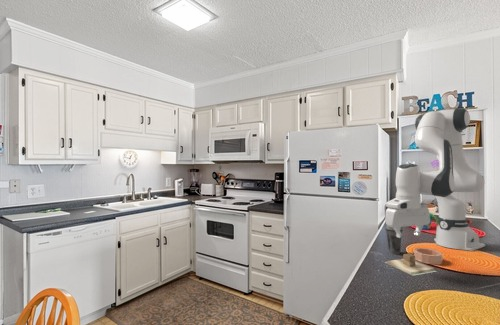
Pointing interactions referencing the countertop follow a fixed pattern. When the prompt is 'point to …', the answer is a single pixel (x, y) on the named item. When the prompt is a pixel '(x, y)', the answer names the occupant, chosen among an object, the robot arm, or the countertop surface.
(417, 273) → the mat
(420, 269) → the cover
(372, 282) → the countertop surface
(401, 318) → the countertop surface
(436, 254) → the bowl
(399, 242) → the beverage cup
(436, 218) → the snack cup
